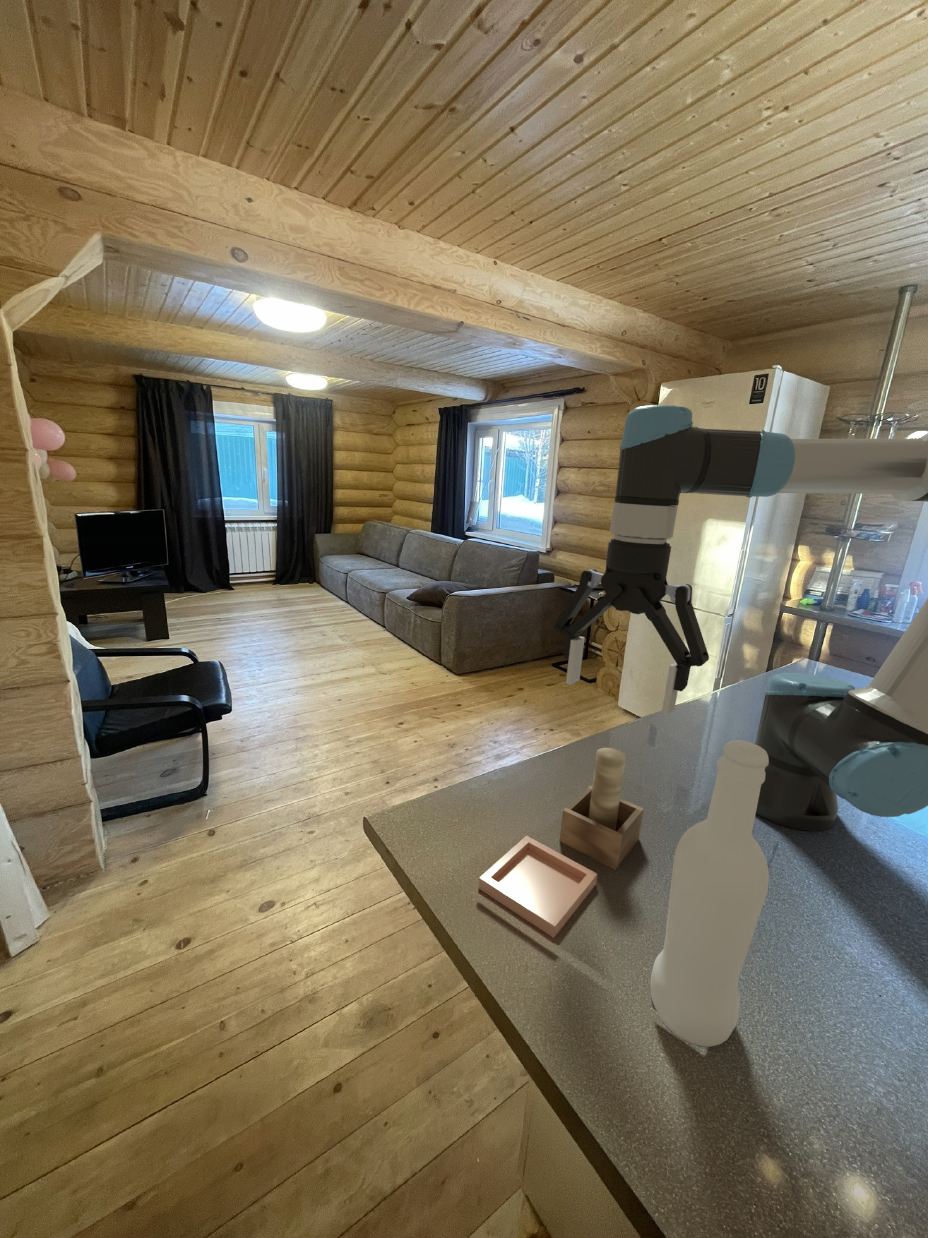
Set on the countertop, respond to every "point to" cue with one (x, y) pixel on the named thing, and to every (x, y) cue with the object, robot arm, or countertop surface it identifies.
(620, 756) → the dowel
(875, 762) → the robot arm
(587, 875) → the tray
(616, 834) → the small wooden box
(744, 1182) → the countertop surface
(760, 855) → the bottle
